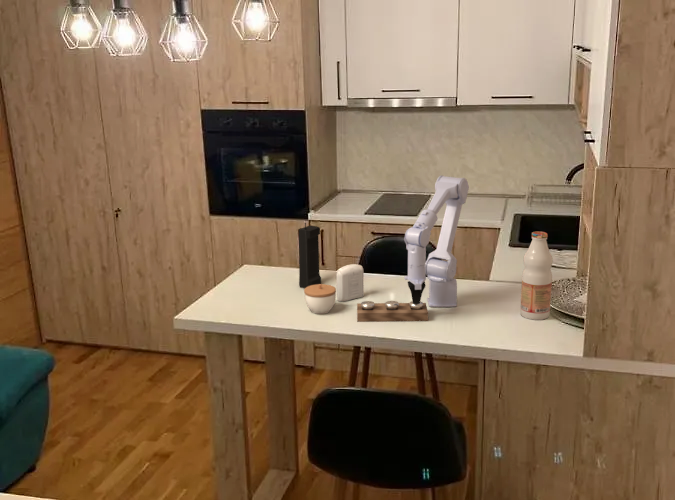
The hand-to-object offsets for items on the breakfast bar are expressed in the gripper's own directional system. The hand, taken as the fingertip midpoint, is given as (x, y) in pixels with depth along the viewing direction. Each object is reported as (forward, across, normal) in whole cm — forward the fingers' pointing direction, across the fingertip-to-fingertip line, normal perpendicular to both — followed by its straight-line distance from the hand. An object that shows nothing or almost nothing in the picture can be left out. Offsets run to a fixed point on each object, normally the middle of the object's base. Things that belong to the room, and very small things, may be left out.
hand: (416, 303), depth 239 cm
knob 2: (+4, 0, 0) cm, 4 cm away
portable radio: (+5, -32, -37) cm, 49 cm away
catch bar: (+4, 0, -8) cm, 9 cm away
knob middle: (+4, 0, -8) cm, 9 cm away
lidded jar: (+5, -6, -32) cm, 33 cm away
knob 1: (+4, 0, -16) cm, 17 cm away
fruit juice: (+5, 0, +39) cm, 39 cm away
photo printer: (+5, -18, -22) cm, 29 cm away
